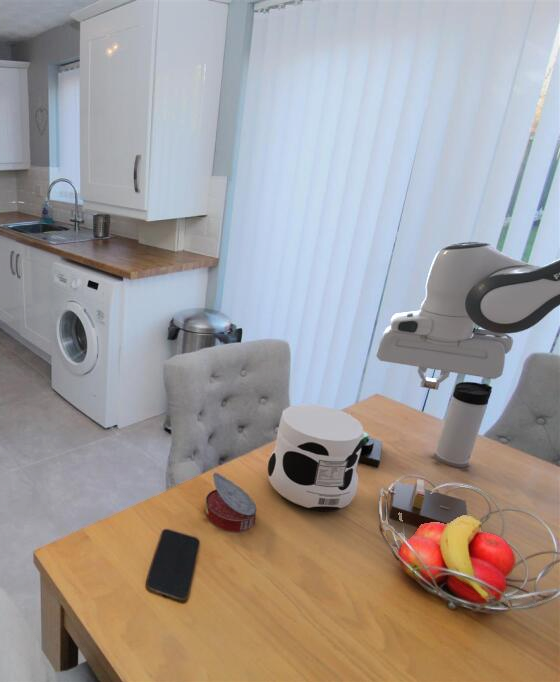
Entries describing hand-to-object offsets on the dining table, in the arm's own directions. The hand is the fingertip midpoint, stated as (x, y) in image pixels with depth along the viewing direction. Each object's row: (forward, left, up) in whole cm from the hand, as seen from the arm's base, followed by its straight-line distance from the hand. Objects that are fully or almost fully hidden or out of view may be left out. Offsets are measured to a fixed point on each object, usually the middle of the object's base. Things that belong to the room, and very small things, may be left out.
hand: (428, 387), depth 100 cm
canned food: (+29, +32, -24) cm, 49 cm away
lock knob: (-2, +10, -21) cm, 23 cm away
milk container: (+17, +15, -24) cm, 33 cm away
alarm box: (+10, -8, -24) cm, 27 cm away
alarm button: (+10, -8, -20) cm, 24 cm away
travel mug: (-9, -16, -24) cm, 30 cm away
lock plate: (-4, +10, -24) cm, 26 cm away
